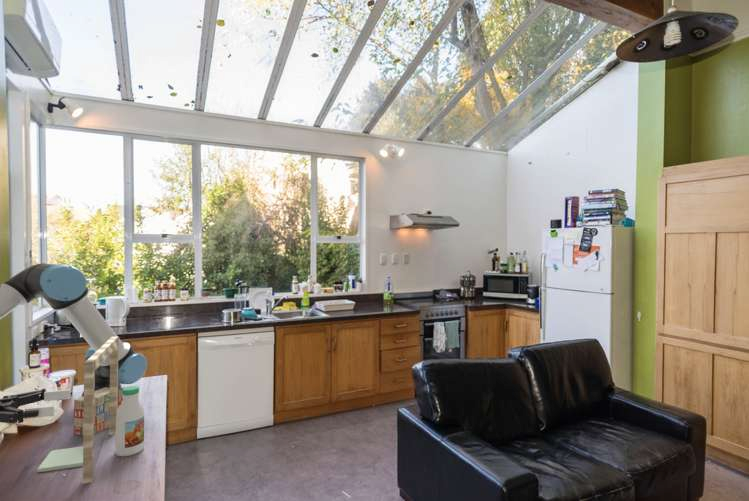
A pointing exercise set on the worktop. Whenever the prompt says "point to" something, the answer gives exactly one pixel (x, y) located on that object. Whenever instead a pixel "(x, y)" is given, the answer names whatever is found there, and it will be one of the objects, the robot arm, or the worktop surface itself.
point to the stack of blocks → (95, 410)
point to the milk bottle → (130, 423)
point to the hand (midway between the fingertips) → (62, 402)
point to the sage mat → (62, 459)
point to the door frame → (89, 394)
